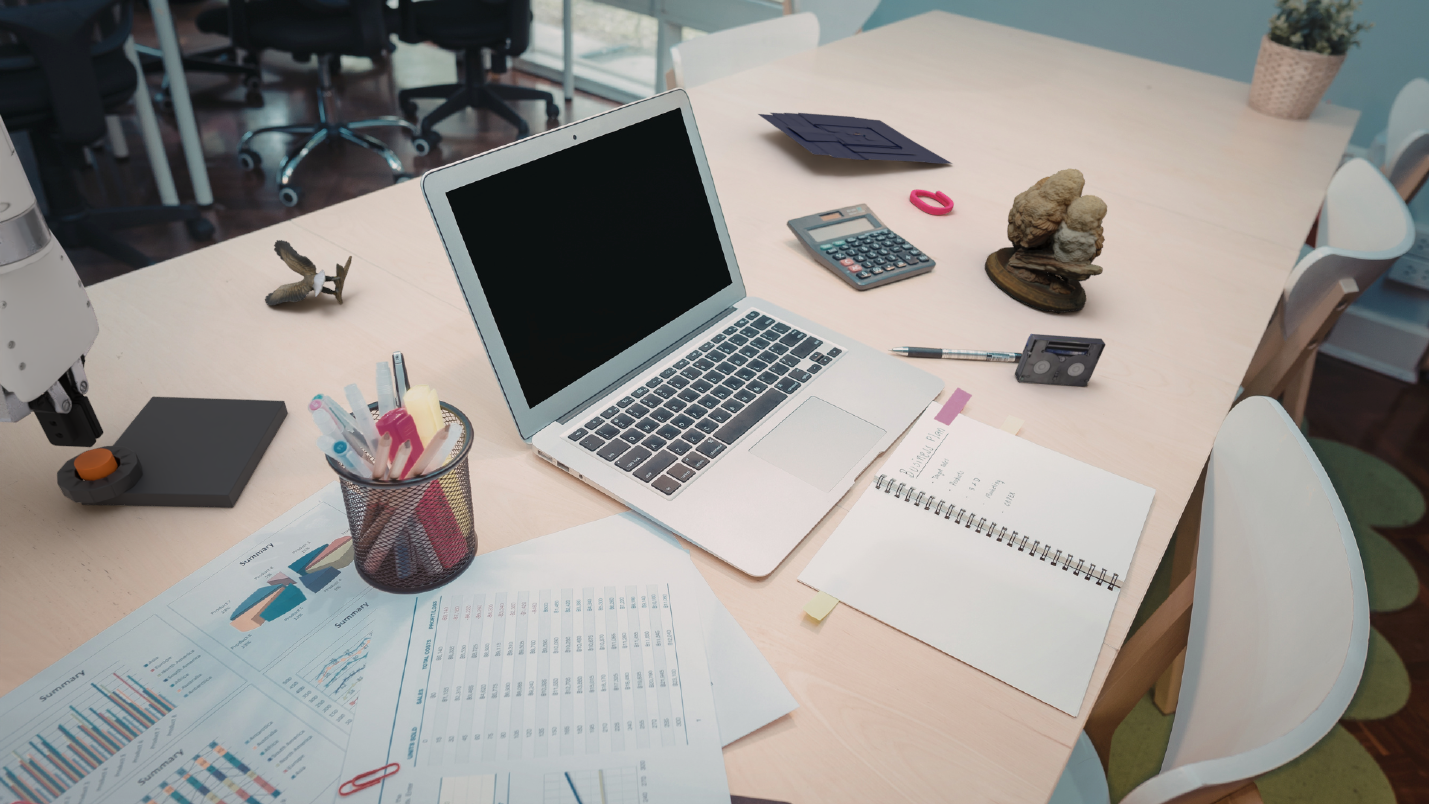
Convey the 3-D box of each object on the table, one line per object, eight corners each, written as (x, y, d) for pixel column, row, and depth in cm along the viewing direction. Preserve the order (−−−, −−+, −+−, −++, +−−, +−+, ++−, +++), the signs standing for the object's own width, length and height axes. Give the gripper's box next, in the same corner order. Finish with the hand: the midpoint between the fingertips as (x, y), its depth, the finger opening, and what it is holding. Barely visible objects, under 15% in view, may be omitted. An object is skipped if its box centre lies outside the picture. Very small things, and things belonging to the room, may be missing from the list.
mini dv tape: (1081, 379, 96) (1100, 336, 92) (1086, 386, 95) (1105, 344, 91) (1014, 374, 96) (1030, 331, 92) (1018, 382, 94) (1034, 338, 91)
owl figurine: (1111, 315, 109) (1165, 195, 99) (1040, 324, 106) (1087, 200, 95) (1030, 253, 122) (1070, 142, 112) (964, 259, 119) (999, 145, 109)
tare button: (73, 481, 66) (66, 468, 65) (91, 459, 68) (84, 447, 67) (107, 481, 66) (101, 469, 66) (123, 460, 68) (118, 448, 68)
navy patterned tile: (749, 125, 154) (753, 105, 152) (875, 133, 167) (880, 115, 165) (814, 174, 137) (820, 153, 135) (948, 178, 150) (955, 159, 148)
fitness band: (959, 214, 132) (962, 205, 131) (929, 217, 130) (932, 208, 129) (931, 194, 138) (933, 185, 137) (902, 196, 136) (904, 188, 135)
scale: (57, 516, 66) (41, 489, 65) (143, 408, 78) (133, 383, 76) (227, 519, 68) (217, 493, 66) (288, 413, 79) (281, 388, 77)
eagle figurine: (358, 271, 99) (280, 254, 97) (348, 243, 92) (264, 224, 91) (340, 328, 96) (260, 310, 95) (327, 302, 90) (241, 283, 88)
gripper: (-12, 183, 60) (80, 382, 71) (-176, 285, 48) (-35, 504, 59) (98, 191, 61) (171, 387, 72) (-37, 293, 49) (76, 508, 60)
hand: (78, 439), depth 65 cm, fingers closed
